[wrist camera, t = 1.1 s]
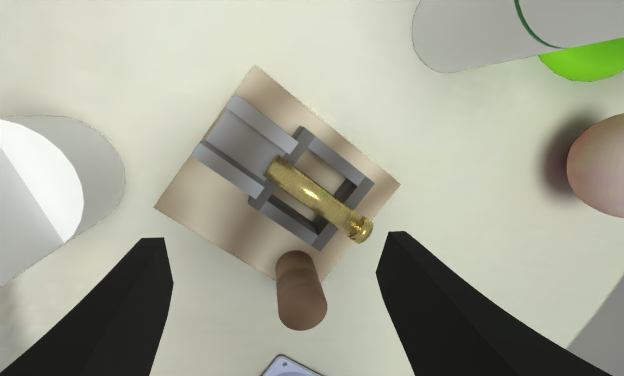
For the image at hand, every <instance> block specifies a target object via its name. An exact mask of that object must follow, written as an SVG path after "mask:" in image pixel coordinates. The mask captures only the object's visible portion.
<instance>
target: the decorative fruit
mask: <svg viewBox="0 0 624 376" xmlns="http://www.w3.org/2000/svg"><path fill="white" fill-rule="evenodd" d="M567 177H568V181H569V184H570V186H571V188H572V190H573V191H574V193H575V194H576V195H577V196H578V198H580V199H581V200H582V201H583V202H584V203H586V204H587V205H589V206H591V207H592V208H594V209H596V210H598V211H601V212H603V213H605V214H608V215H612V216H615V217H620V218H624V113H623V114H619V115H615V116H612V117H610V118H607V119H605V120H602V121H600V122H598V123H596V124H595V125H593V126H592V127H590V128H589V129H587V130H586V131H585V132H584V133H583V134H581V135H580V136H579V137H578V138H577V139H576V140H575V142H574V143H573V144H572V146H571V148H570V151H569V153H568V157H567Z"/></svg>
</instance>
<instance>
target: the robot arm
mask: <svg viewBox="0 0 624 376" xmlns="http://www.w3.org/2000/svg"><path fill="white" fill-rule="evenodd" d="M376 276H377V280H378V283H379V287H380V290H381V294H382V297H383V300H384V303H385V305H386V308H387V310H388V313H389V315H390V317H391V320H392V322H393V324H394V327H395V329H396V331H397V334H398V336H399V338H400V341H401V343H402V345H403V348H404V350H405V352H406V355H407V357H408V359H409V362H410V364H411V366H412V369H413V372H414V374H415V376H612V375H610V374H608V373H606V372H604V371H603V370H601V369H599V368H597V367H595V366H594V365H592V364H590V363H588V362H586V361H585V360H583V359H581V358H579V357H577V356H576V355H574V354H572V353H571V352H569V351H567V350H566V349H564V348H562V347H561V346H559V345H557V344H555V343H554V342H552V341H550V340H549V339H547V338H545V337H544V336H542V335H541V334H539V333H538V332H536V331H534V330H533V329H531V328H530V327H528V326H527V325H525V324H524V323H522V322H521V321H519V320H518V319H516V318H515V317H513V316H512V315H510V314H509V313H507V312H506V311H504V310H503V309H502V308H500V307H499V306H497V305H496V304H495V303H493V302H492V301H491V300H489V299H488V298H487V297H485V296H484V295H483V294H481V293H480V292H479V291H477V290H476V289H475V288H473V287H472V286H471V285H470V284H468V283H467V282H466V281H464V280H463V279H462V278H461V277H460V276H458V275H457V274H456V273H455V272H453V271H452V270H451V269H450V268H449V267H447V266H446V265H445V264H444V263H443V262H441V261H440V260H439V259H438V258H437V257H436V256H434V255H433V254H432V253H431V252H430V251H428V250H427V249H426V248H425V247H424V246H423V245H421V244H420V243H419V242H418V241H417V240H415V239H414V238H413V237H412V236H411V235H409V234H408V233H407V232H405V231H397V232H389V233H388V236H387V239H386V242H385V245H384V248H383V251H382V255H381V258H380V261H379V264H378V267H377V270H376ZM172 290H173V279H172V274H171V269H170V264H169V259H168V255H167V250H166V245H165V240H164V238H141V239H140V240H139V241H138V242H137V243H136V244H135V245H134V246H133V247H132V249H131V250H130V251H129V252H128V253H127V254H126V255H125V256H124V257H123V258H122V259H121V260H120V261H119V262H118V264H117V265H116V266H115V267H114V268H113V269H112V270H111V271H110V272H109V273H108V274H107V275H106V276H105V277H104V278H103V279H102V280H101V281H100V282H99V283H98V284H97V285H96V286H95V287H94V288H93V289H92V290H91V291H90V292H89V293H88V294H87V295H86V296H85V297H84V298H83V299H82V300H81V301H80V302H79V303H78V304H77V305H76V306H75V307H74V308H73V309H72V310H71V311H70V312H69V313H68V314H67V315H66V316H64V317H63V318H62V319H61V320H60V321H59V322H58V323H57V324H56V325H55V326H54V327H53V328H52V329H51V330H49V331H48V332H47V333H46V334H45V335H44V336H43V337H42V338H41V339H39V340H38V341H37V342H36V343H35V344H34V345H33V346H31V347H30V348H29V349H28V350H27V351H26V352H25V353H23V354H22V355H21V356H20V357H19V358H17V359H16V360H15V361H14V362H13V363H11V364H10V365H9V366H8V367H7V368H5V369H4V370H3V371H2V372H1V373H0V376H149V374H150V371H151V368H152V365H153V362H154V358H155V355H156V352H157V349H158V346H159V342H160V339H161V336H162V333H163V329H164V326H165V323H166V320H167V316H168V311H169V306H170V301H171V295H172ZM284 362H286V363H284ZM262 376H321V375H319V374H317V373H315V372H313V371H311V370H309V369H307V368H305V367H303V366H301V365H299V364H298V363H296V362H294V361H292V360H290V359H288V358H286V357H284V356H278V357H277V358H276V359H275V360H274V362H273V363H272V364H271V365H270V367H269V368H268V369H267V370H266V371H265V373H264V374H263V375H262Z"/></svg>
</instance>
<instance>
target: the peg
mask: <svg viewBox="0 0 624 376" xmlns="http://www.w3.org/2000/svg"><path fill="white" fill-rule="evenodd" d="M275 272H276V286H277V299H278V312H279V317H280V320H281V321H282V323H283V324H284V325H285V326H287V327H288V328H290V329H293V330H299V331H301V330H308V329H311V328H313V327H315V326H316V325H318V324H319V323H320V322H321V321H322V320H323V319H324V317H325V315H326V312H327V302H326V299H325V296H324V293H323V289H322V286H321V283H320V280H319V277H318V274H317V271H316V268H315V265H314V262H313V260H312V258H311V257H310V256H309V255H308V254H307V253H305V252H303V251H299V250H294V251H289V252H287V253H285V254H283V255H282V256H281V257H280V258H279V259H278V261H277V263H276V267H275Z"/></svg>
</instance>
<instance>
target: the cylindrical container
mask: <svg viewBox="0 0 624 376" xmlns="http://www.w3.org/2000/svg"><path fill="white" fill-rule="evenodd" d="M622 37H624V0H421V1H420V3H419V5H418V7H417V9H416V12H415V15H414V18H413V24H412V39H413V44H414V47H415V50H416V52H417V54H418V56H419V57H420V59H421V60H422V61H423V62H424V63H425V65H427V66H428V67H430V68H431V69H433V70H435V71H438V72H443V73H451V72H458V71H462V70H467V69H472V68H477V67H482V66H487V65H491V64H496V63H501V62H506V61H511V60H516V59H520V58H525V57H530V56H535V55H540V54H544V53H549V52H554V51H559V50H564V49H569V48H573V47H578V46H583V45H588V44H593V43H598V42H603V41H608V40H613V39H617V38H622Z"/></svg>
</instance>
